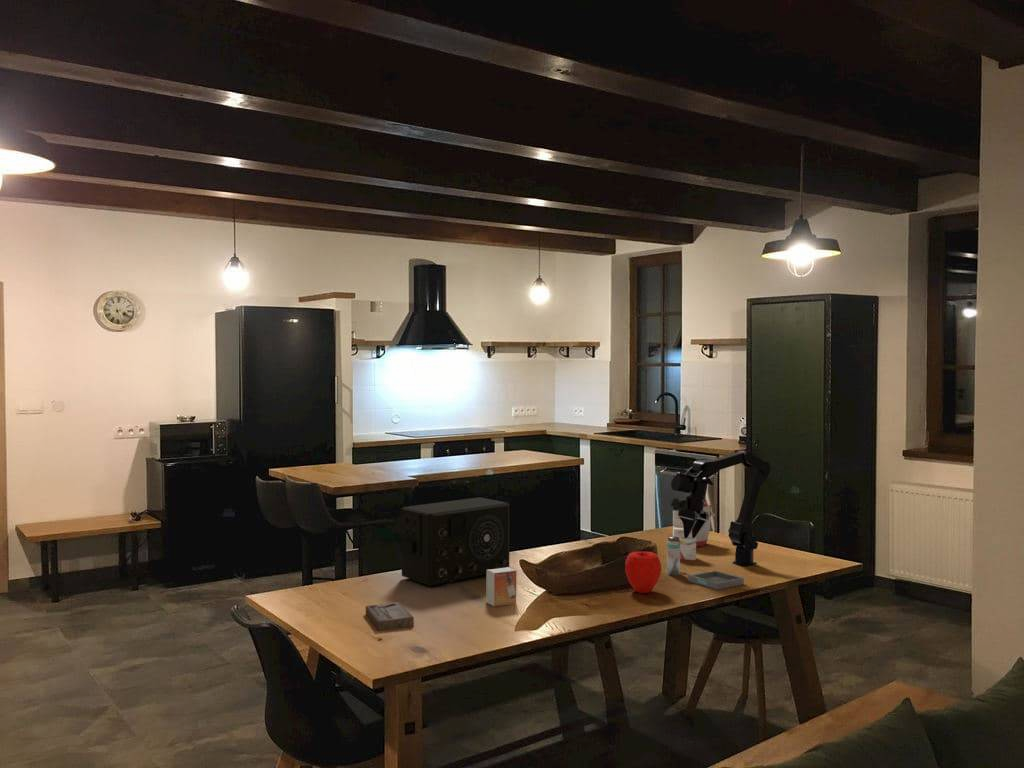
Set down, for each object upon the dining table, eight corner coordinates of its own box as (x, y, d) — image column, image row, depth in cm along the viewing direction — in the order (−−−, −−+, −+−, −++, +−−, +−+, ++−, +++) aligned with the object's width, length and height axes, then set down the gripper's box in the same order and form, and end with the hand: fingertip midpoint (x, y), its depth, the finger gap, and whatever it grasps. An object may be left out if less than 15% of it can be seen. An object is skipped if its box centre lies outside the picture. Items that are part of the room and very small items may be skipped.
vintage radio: (428, 591, 284) (428, 515, 283) (396, 580, 298) (395, 507, 298) (515, 573, 308) (515, 503, 307) (481, 563, 323) (481, 496, 322)
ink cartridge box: (673, 559, 330) (673, 521, 329) (672, 556, 334) (672, 518, 334) (696, 560, 329) (696, 521, 328) (694, 557, 334) (695, 519, 333)
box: (377, 632, 242) (377, 621, 242) (365, 615, 258) (364, 605, 258) (415, 627, 246) (414, 616, 246) (400, 611, 262) (399, 601, 262)
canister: (673, 571, 311) (673, 535, 310) (683, 574, 307) (683, 537, 306) (663, 573, 308) (664, 537, 308) (673, 576, 304) (673, 539, 304)
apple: (653, 585, 291) (653, 546, 291) (667, 595, 280) (667, 553, 279) (619, 588, 288) (620, 547, 288) (633, 597, 277) (633, 555, 277)
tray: (714, 576, 304) (714, 570, 304) (743, 584, 293) (743, 577, 293) (687, 581, 297) (688, 575, 297) (717, 590, 286) (717, 583, 286)
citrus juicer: (719, 548, 350) (719, 498, 349) (676, 548, 349) (676, 498, 349) (709, 540, 365) (710, 492, 365) (668, 540, 365) (668, 493, 364)
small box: (493, 607, 266) (493, 573, 265) (485, 602, 271) (485, 569, 270) (516, 603, 269) (516, 570, 269) (508, 599, 274) (508, 566, 274)
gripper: (684, 491, 326) (676, 532, 325) (668, 489, 310) (660, 532, 309) (713, 497, 321) (705, 539, 320) (698, 496, 305) (689, 540, 304)
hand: (689, 537), depth 313 cm, fingers open, 9 cm apart
